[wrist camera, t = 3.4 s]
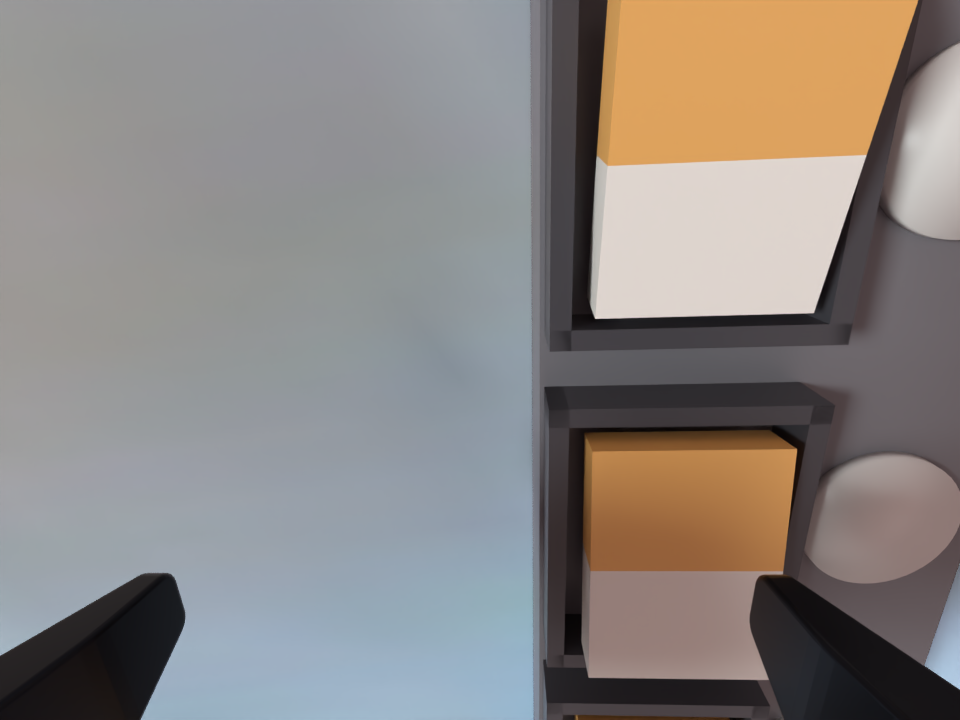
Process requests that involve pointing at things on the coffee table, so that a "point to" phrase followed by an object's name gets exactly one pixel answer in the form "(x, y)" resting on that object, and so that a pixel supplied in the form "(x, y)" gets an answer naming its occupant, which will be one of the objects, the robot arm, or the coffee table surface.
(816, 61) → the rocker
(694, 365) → the power strip
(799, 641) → the robot arm
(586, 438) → the rocker middle
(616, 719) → the block
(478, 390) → the coffee table surface
